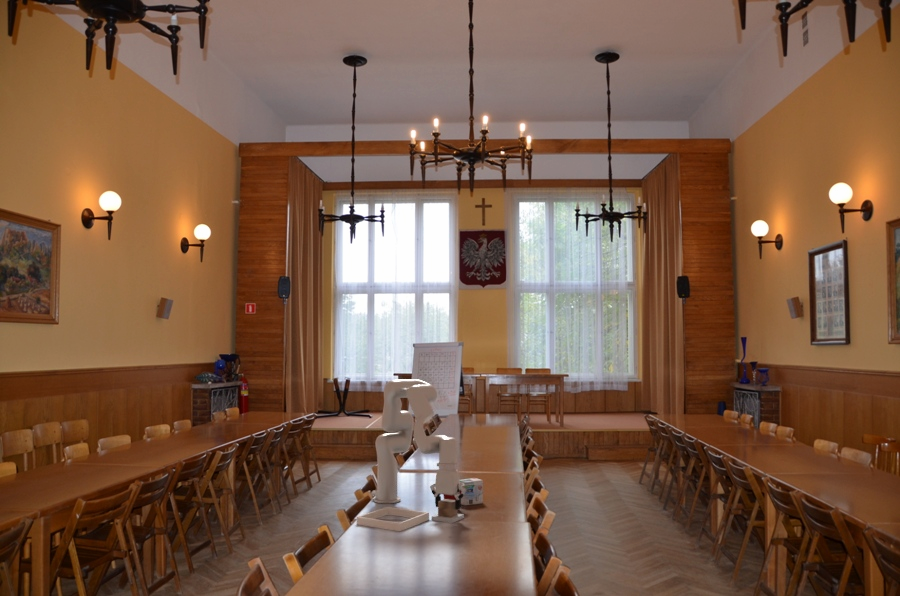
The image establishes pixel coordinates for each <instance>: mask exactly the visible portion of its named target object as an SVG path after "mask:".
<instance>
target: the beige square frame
mask: <svg viewBox="0 0 900 596" xmlns="http://www.w3.org/2000/svg"><path fill="white" fill-rule="evenodd" d="M387 515H390V516H395V517H396V516H397V517H403V518H409V519H406V520H404V521H401V522H397V521H396V522H395V521H390V520H382V519H378V518H381V517H384V516H387ZM429 520H430V512H427V511H420V510H413V509H407V508H400V507H399V508H398V507H391V506H386V507H383V508H380V509H377V510H374V511H373V510H372V511H371V512H370V511H369V512H368V513H365V514H361V515H359V516H356V525H358V526H366V527H371V528H377V529H384V530H390V531H396V532H401V531H404V530H407V529H409V528H412V527H414V526H416V525H417V526H418V525H420V524H422V523H424V522H427V521H429Z"/></svg>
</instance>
